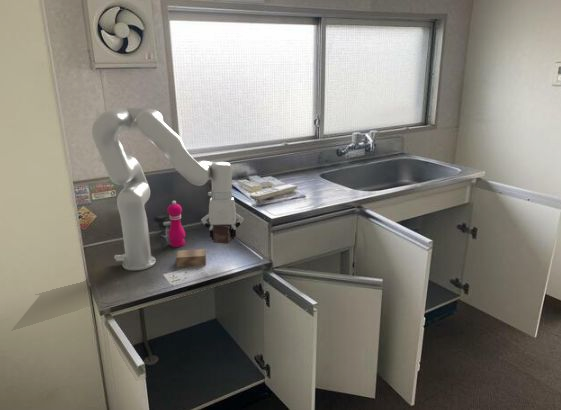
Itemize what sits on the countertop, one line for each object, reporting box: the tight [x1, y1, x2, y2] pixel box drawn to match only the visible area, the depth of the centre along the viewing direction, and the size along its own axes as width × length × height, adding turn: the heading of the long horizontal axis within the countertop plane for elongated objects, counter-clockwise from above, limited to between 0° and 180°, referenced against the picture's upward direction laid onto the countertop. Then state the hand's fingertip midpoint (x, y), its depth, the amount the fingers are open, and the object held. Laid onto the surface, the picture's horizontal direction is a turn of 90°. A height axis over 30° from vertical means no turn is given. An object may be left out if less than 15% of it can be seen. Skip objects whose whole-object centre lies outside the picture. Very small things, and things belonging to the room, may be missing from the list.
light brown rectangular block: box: [175, 248, 207, 268], centre depth 176 cm, size 11×7×4 cm, turn 97°
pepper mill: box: [167, 200, 186, 248], centre depth 192 cm, size 7×7×20 cm
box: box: [212, 225, 233, 245], centre depth 173 cm, size 6×6×7 cm
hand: (223, 238), depth 173 cm, fingers closed on box, 7 cm apart
